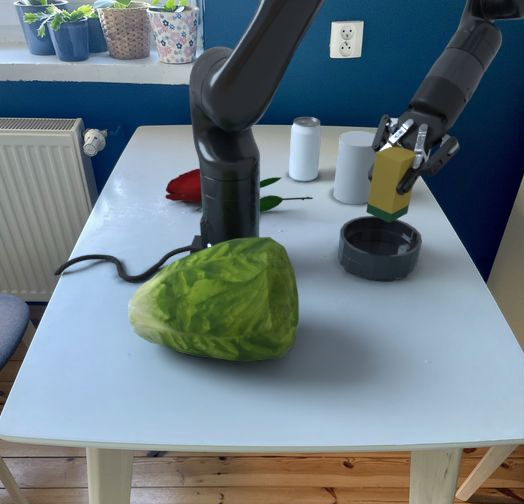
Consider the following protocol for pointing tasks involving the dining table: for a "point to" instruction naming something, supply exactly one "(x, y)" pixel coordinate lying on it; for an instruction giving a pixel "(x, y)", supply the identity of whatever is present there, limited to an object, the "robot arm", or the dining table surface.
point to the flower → (190, 190)
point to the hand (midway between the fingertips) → (385, 186)
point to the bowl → (379, 248)
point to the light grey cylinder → (354, 167)
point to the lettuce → (222, 302)
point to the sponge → (389, 183)
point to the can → (305, 149)
